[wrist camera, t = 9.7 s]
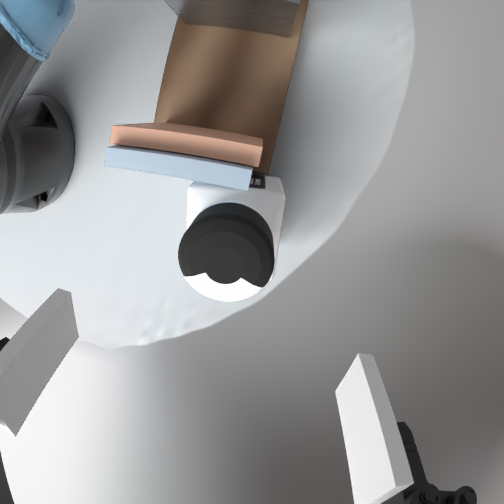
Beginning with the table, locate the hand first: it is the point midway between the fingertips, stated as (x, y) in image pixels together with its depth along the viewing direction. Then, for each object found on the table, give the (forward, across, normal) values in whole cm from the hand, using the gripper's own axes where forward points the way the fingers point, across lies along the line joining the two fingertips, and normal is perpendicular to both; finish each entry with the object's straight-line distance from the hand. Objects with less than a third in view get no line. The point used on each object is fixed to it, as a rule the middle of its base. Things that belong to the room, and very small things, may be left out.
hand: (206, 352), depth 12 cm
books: (+19, -4, +7) cm, 21 cm away
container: (+21, 0, 0) cm, 21 cm away
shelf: (+21, -4, +15) cm, 26 cm away
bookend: (+19, -4, +19) cm, 28 cm away
